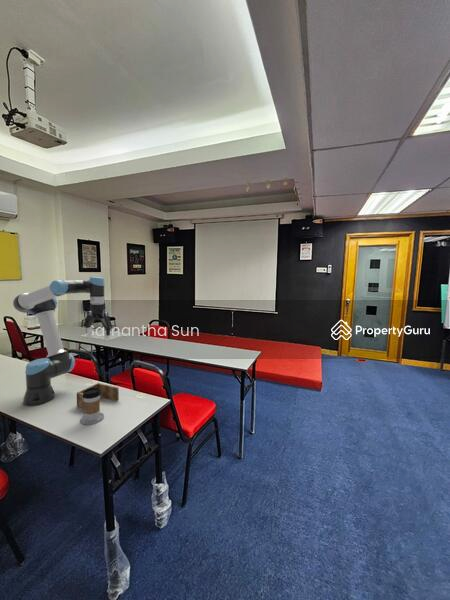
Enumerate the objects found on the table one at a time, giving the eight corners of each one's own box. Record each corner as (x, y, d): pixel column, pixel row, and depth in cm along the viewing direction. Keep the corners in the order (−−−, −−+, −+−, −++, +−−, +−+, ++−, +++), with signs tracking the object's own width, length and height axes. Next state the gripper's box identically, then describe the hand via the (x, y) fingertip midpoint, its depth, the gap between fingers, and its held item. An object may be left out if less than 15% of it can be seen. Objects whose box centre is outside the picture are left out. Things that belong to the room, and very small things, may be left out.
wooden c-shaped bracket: (76, 406, 146) (76, 392, 145) (98, 395, 160) (98, 382, 159) (98, 412, 140) (97, 398, 139) (118, 400, 154) (118, 387, 153)
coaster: (75, 421, 131) (75, 420, 131) (93, 411, 141) (93, 410, 141) (91, 426, 127) (91, 425, 127) (108, 415, 137) (108, 414, 137)
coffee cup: (94, 423, 129) (93, 394, 127) (79, 421, 130) (78, 392, 129) (104, 414, 137) (104, 387, 136) (91, 412, 139) (90, 385, 137)
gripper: (76, 303, 150) (77, 338, 152) (108, 305, 141) (109, 343, 143) (87, 301, 157) (87, 336, 159) (119, 304, 148) (119, 340, 150)
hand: (98, 339), depth 151 cm, fingers open, 13 cm apart
